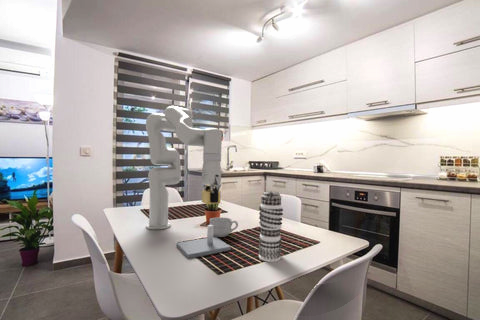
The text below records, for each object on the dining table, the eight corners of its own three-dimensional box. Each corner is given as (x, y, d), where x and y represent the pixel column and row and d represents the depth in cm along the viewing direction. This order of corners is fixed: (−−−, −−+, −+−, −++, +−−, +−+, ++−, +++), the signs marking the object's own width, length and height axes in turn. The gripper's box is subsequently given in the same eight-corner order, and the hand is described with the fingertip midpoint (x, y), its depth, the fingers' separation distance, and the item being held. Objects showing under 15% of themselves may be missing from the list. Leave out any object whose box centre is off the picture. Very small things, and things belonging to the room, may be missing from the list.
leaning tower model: (265, 263, 87) (267, 194, 87) (253, 254, 95) (255, 190, 95) (286, 260, 91) (288, 193, 90) (273, 251, 99) (275, 190, 99)
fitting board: (176, 246, 101) (177, 225, 101) (215, 239, 111) (216, 220, 111) (187, 258, 90) (188, 234, 89) (230, 250, 99) (231, 228, 99)
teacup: (205, 236, 115) (205, 220, 115) (215, 230, 125) (216, 215, 125) (231, 241, 110) (232, 223, 110) (240, 234, 120) (241, 218, 120)
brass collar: (201, 201, 103) (202, 190, 103) (214, 201, 106) (214, 189, 106) (207, 204, 98) (207, 191, 98) (220, 203, 101) (220, 191, 101)
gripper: (196, 157, 107) (195, 198, 107) (212, 158, 92) (211, 205, 92) (211, 158, 111) (210, 197, 111) (229, 158, 96) (228, 204, 96)
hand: (211, 200), depth 102 cm, fingers closed on brass collar, 5 cm apart
